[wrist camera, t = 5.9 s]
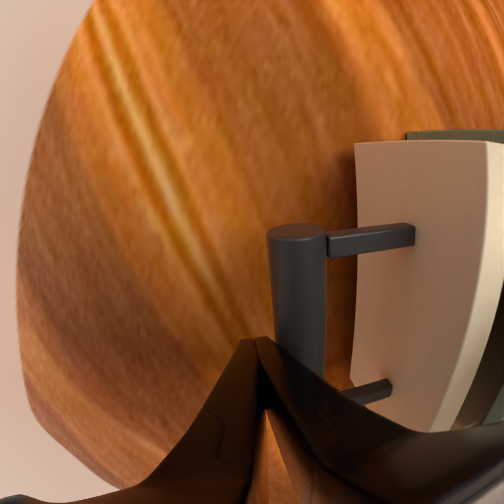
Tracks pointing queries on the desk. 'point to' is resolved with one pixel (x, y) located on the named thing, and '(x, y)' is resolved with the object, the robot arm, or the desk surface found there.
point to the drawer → (408, 282)
